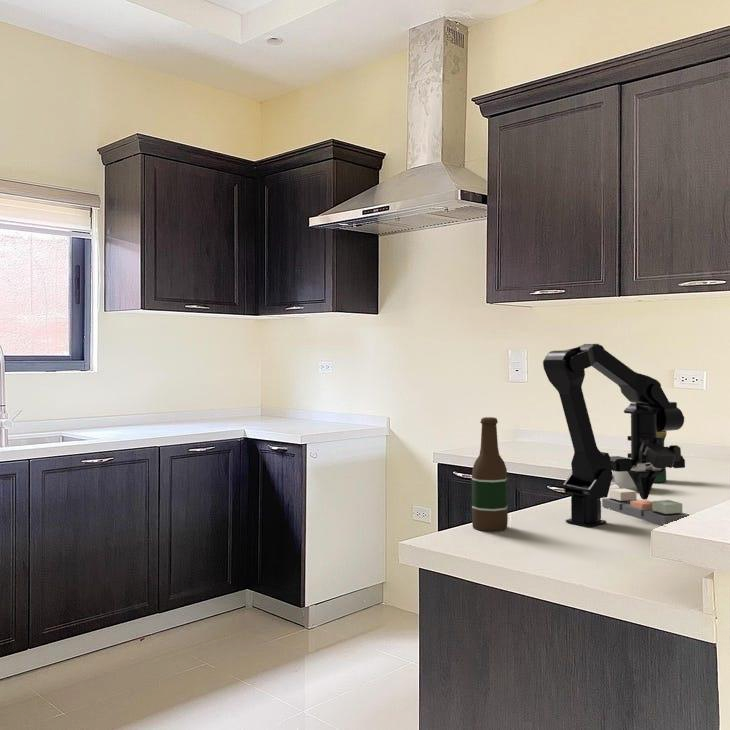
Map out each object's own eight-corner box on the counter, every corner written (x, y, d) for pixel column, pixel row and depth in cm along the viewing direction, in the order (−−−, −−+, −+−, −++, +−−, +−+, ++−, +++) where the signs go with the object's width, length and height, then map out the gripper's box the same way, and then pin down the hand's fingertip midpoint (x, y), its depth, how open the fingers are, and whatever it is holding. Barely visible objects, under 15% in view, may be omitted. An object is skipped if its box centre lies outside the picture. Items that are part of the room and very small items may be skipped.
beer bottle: (503, 523, 166) (502, 416, 165) (511, 531, 158) (510, 418, 158) (469, 524, 165) (468, 416, 165) (475, 532, 157) (474, 419, 157)
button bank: (691, 524, 163) (691, 515, 163) (664, 526, 161) (664, 517, 161) (626, 504, 186) (626, 496, 186) (602, 506, 184) (602, 498, 184)
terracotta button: (658, 511, 172) (658, 503, 172) (642, 513, 171) (642, 504, 171) (646, 508, 176) (646, 499, 176) (630, 509, 175) (630, 500, 175)
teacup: (656, 488, 209) (656, 459, 209) (650, 494, 200) (649, 464, 200) (606, 484, 216) (605, 456, 216) (597, 490, 207) (597, 461, 207)
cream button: (636, 499, 180) (636, 491, 180) (620, 500, 178) (620, 492, 178) (625, 496, 184) (625, 488, 184) (609, 497, 183) (609, 489, 183)
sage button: (682, 512, 164) (682, 503, 164) (665, 513, 163) (665, 504, 163) (668, 508, 169) (668, 499, 169) (652, 510, 167) (652, 501, 167)
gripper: (631, 437, 163) (631, 508, 163) (701, 434, 168) (702, 503, 168) (601, 432, 174) (601, 499, 174) (668, 429, 179) (669, 494, 179)
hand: (644, 499), depth 174 cm, fingers closed
